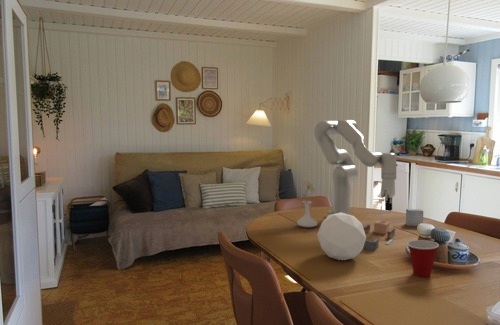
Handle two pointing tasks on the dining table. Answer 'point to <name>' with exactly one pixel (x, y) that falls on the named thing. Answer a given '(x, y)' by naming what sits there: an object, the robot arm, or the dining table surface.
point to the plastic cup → (422, 256)
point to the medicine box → (414, 217)
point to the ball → (341, 236)
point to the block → (381, 227)
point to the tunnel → (389, 233)
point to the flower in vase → (307, 210)
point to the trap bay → (371, 245)
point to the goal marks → (389, 241)
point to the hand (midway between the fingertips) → (388, 210)
